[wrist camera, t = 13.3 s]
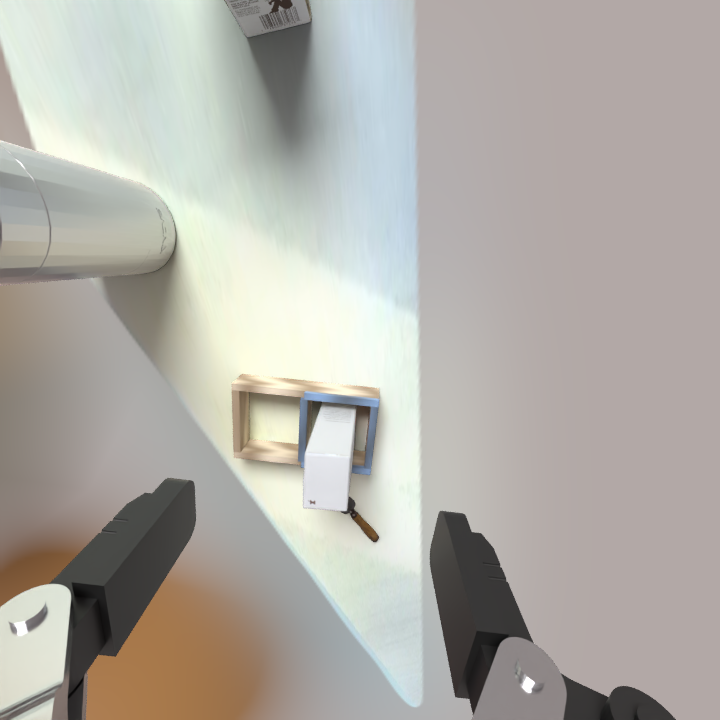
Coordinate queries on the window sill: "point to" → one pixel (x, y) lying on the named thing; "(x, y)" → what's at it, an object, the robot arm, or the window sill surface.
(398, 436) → the window sill surface
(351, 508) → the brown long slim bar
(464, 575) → the robot arm
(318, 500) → the skincare box
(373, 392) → the organiser
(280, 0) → the coffee box
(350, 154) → the window sill surface
